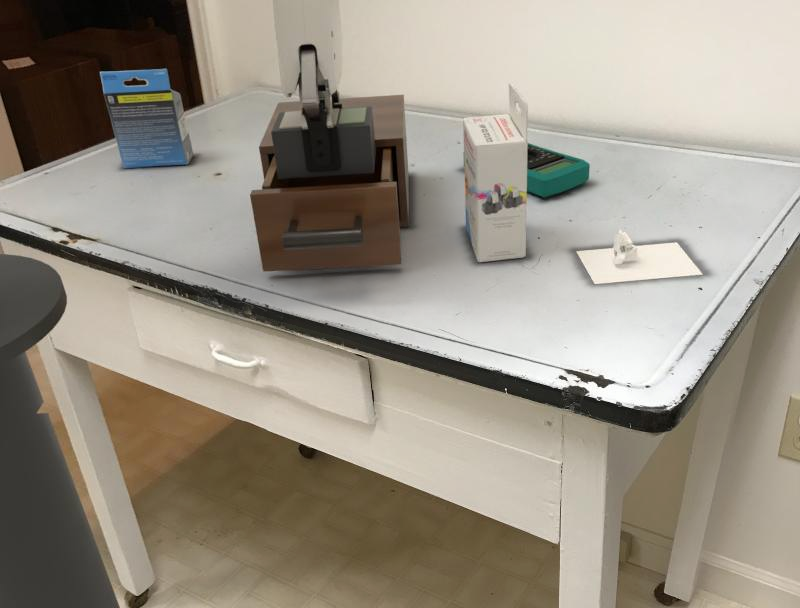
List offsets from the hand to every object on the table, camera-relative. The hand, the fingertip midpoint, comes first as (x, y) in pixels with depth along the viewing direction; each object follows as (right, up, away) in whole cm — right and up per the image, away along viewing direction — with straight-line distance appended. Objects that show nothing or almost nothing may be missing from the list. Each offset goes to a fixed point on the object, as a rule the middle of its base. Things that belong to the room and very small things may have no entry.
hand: (327, 156), depth 82 cm
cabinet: (+1, -1, +16) cm, 16 cm away
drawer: (+1, -8, +4) cm, 9 cm away
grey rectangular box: (0, -1, +1) cm, 1 cm away
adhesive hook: (+30, -11, -1) cm, 31 cm away
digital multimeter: (+22, +3, +19) cm, 29 cm away
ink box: (+17, -8, +5) cm, 19 cm away
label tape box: (-25, +8, +32) cm, 42 cm away
